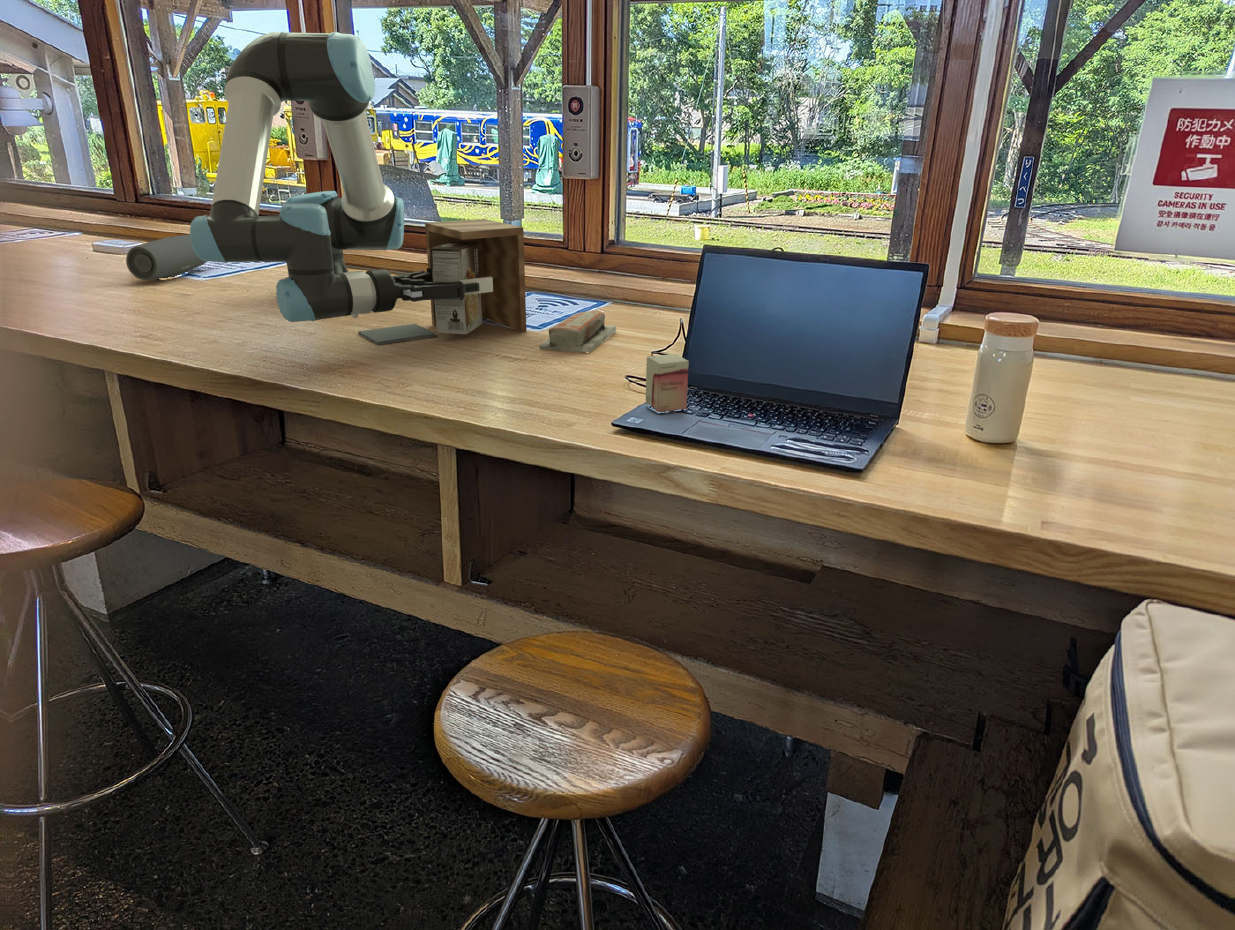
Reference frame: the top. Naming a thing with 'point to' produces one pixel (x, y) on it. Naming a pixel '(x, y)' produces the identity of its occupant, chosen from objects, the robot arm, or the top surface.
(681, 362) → the small box
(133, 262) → the bluetooth speaker
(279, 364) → the top surface
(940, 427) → the top surface
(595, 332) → the packaged product
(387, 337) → the mat
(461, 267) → the coffee box
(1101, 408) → the top surface
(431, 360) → the top surface
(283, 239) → the robot arm
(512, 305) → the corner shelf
